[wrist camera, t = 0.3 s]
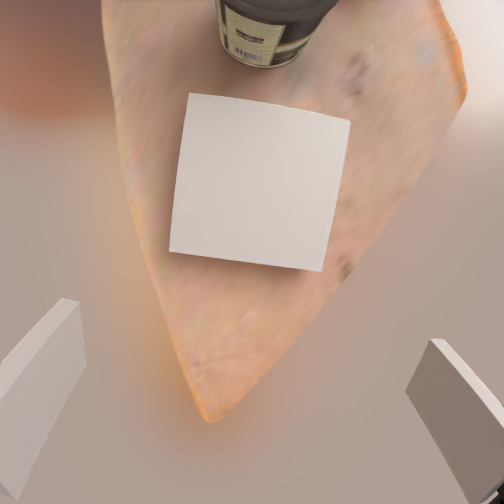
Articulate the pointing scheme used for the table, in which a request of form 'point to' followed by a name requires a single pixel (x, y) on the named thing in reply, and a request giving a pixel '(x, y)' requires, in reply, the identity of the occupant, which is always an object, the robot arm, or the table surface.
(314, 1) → the coffee can
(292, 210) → the base
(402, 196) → the table surface
